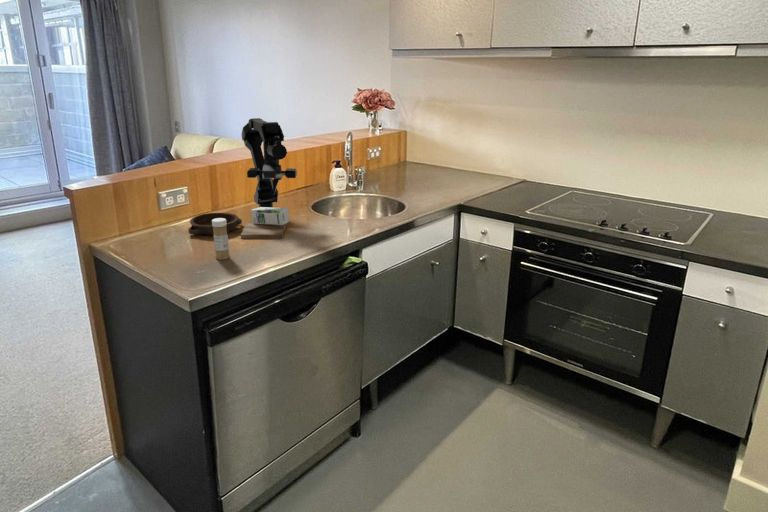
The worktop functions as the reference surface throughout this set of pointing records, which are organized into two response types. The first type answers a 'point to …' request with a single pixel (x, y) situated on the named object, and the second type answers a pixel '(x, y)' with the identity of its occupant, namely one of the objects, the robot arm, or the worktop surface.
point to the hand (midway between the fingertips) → (273, 194)
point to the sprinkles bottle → (220, 238)
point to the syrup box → (270, 215)
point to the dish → (204, 223)
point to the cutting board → (263, 231)
